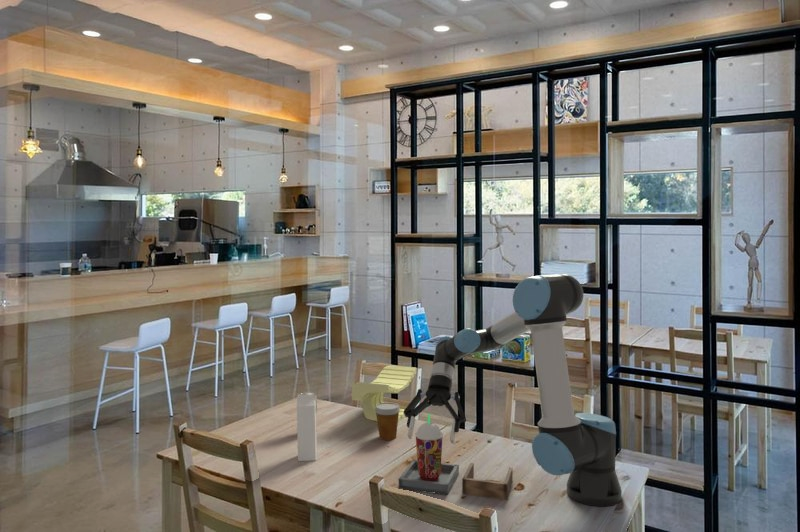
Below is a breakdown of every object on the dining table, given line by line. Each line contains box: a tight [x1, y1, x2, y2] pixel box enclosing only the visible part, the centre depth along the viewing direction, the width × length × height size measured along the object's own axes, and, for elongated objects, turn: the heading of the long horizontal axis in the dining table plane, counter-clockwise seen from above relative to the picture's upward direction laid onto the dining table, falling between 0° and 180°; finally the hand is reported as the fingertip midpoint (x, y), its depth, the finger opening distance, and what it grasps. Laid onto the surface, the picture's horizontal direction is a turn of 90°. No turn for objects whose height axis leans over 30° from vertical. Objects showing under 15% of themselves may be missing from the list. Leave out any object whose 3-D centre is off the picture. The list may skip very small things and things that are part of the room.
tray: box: [398, 459, 460, 496], centre depth 177 cm, size 15×15×3 cm
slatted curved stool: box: [351, 364, 417, 423], centre depth 239 cm, size 30×16×18 cm, turn 158°
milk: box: [296, 394, 318, 462], centre depth 196 cm, size 6×6×22 cm
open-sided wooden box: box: [461, 462, 514, 501], centre depth 171 cm, size 13×12×4 cm
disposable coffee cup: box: [375, 401, 401, 441], centre depth 215 cm, size 10×10×12 cm
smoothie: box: [414, 413, 444, 481], centre depth 176 cm, size 8×8×20 cm
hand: (430, 439), depth 178 cm, fingers open, 13 cm apart
